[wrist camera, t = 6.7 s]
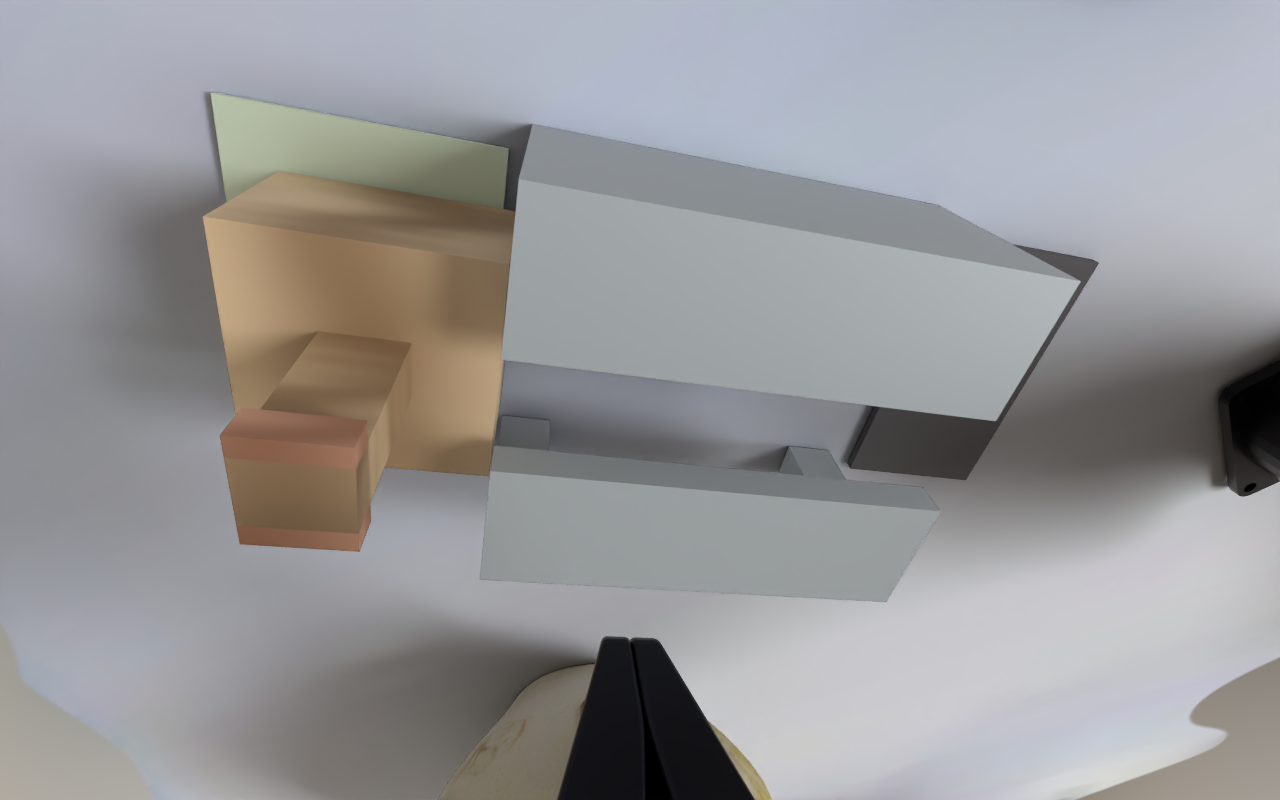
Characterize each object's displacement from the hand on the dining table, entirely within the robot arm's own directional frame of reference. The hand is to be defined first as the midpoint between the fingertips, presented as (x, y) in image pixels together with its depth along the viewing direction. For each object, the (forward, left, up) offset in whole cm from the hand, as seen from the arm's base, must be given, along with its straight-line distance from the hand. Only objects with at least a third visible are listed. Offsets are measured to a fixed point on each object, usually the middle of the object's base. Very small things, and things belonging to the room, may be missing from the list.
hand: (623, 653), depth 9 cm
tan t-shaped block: (+4, +4, -12) cm, 13 cm away
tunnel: (-3, -3, -12) cm, 12 cm away
